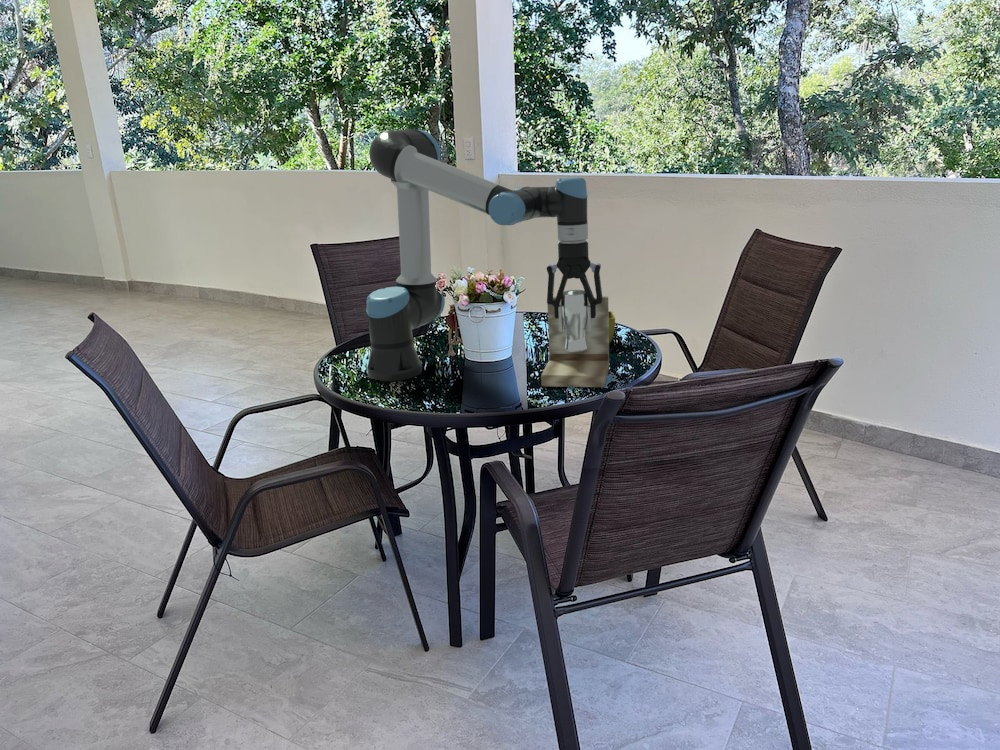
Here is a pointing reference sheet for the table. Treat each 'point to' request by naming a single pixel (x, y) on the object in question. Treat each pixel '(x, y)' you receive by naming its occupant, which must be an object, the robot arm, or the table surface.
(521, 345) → the table surface
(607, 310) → the beige brown l-shaped block
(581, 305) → the beer glass
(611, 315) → the flower pot
